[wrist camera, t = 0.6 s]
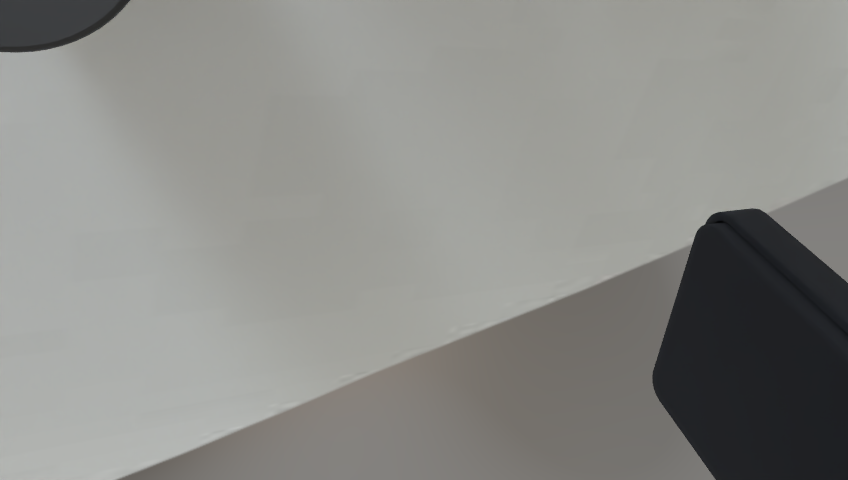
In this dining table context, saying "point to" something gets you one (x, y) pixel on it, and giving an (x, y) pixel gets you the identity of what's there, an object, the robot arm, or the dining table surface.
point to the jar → (51, 22)
